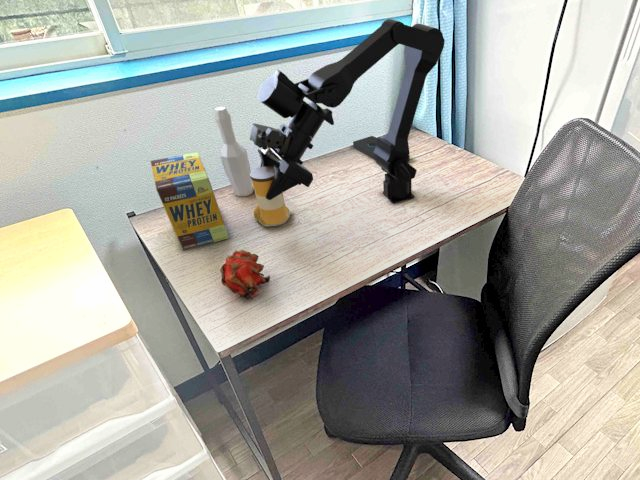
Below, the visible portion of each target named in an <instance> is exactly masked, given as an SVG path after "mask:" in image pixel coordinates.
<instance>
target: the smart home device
mask: <svg viewBox="0 0 640 480" xmlns="http://www.w3.org/2000/svg"><path fill="white" fill-rule="evenodd" d="M377 139H378V137H377V136H374V135H370V136H367V137H363V138H360V139H357V140H354V141H353V142H352V146H353V148H354V149H355V150H357V151H359V152H361V153H362V154H364V155H366V156H367V157H369V158H371V159H372V160H374V161H375V158H374V157H375V154H374V153H373V152H374V150H375V148H376V144H377ZM410 159H411V158H410V155H409V159H408V163H409V162H410Z"/></svg>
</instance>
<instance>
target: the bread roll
mask: <svg viewBox="0 0 640 480" xmlns="http://www.w3.org/2000/svg"><path fill="white" fill-rule="evenodd" d="M286 210H287V214H288V217H287V219H286V220H285V221H283V222H281V223H278V224H267V223H265V222H264V221H263V219H262V215H261V211H260V208H259V205H258V204H257V205H256V206H255V207H254V210H253V218H254V219H255V220H256V221H257V222H259V224H260V225H262V226H263V227H267V228H269V227H278V226H281V225H284V224H285V223H286V222H287V221H288V220H289V219H290V217H291V212H290V211H291V210H290V208H289V207H288V206H286Z"/></svg>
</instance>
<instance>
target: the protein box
mask: <svg viewBox="0 0 640 480" xmlns="http://www.w3.org/2000/svg"><path fill="white" fill-rule="evenodd" d="M150 166H151V171H152V176H153V180H154V184H155V189H156V192H157V195H158V197H159V199H160V201H161V203H162V207H163V208H164V210H165V213H166V216H167V218H168V220H169V222H170V224H171V226H172V228H173V231H174V233H175V236H176V238H177V240H178V242H179V244H180V247H181V249H182V251H186V250H190V249H193V248H197V247H202V246H206V245H208V244H209V245H210V244H212V243H216V242H219V241H225V240H228V239H229V235H228V231H227V228H226V225H225V222H224V219H223V216H222V214H221V211H220V207H219V204H218V201H217V198H216V195H215V192H214V190H213V187H212V184H211V181H210V179H209V175H208V173H207V170H206V168H205V166H204V163H203V161H202V159H201V156H200V154H199V152H191V153H186V154H181V155H176V156H170V157H164V158H159V159H154V160H150Z"/></svg>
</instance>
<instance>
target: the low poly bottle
mask: <svg viewBox="0 0 640 480" xmlns="http://www.w3.org/2000/svg"><path fill="white" fill-rule="evenodd" d="M214 119H215V122H216V125H217V127H218V129H219V132H220V136H221V138H222V141H223V146H222V148H221V151H220V154H219V157H220V160H221V164H222V167H223V170H224V173H225V175H226V177H227V179H228V181H229V183H230V186H231V188H232V191H233V193H234V194H235V196H238V197H248V196H250V195H252V194H253V192H254V186H253V182H252V179H251V177H250V173H251V164H250V159H249V156H248V152H247V149H246V148H245V147H244V146H243V145H242V144H241V143H239V142H238V141H237V138H236V136H235V132H234V128H233V122H232V117H231V114H230V112H229V111H228V110H227V108H226V107H224V106H218V107H216V108H215V109H214Z"/></svg>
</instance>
